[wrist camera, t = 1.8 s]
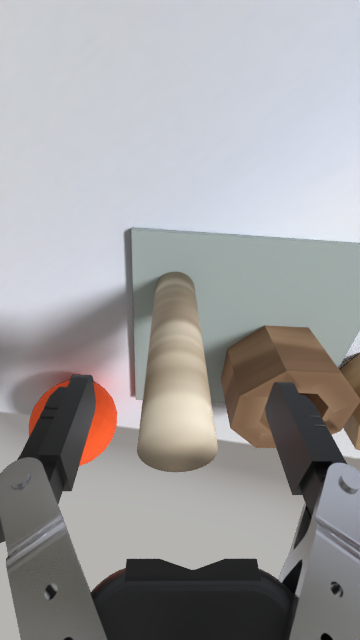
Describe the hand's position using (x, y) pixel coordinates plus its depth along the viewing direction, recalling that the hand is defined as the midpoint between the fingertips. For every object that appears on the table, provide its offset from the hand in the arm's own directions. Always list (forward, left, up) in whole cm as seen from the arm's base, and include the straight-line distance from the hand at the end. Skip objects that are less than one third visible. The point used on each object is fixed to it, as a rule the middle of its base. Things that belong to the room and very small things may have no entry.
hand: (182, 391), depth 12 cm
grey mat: (+4, +6, -10) cm, 12 cm away
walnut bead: (+7, +9, -9) cm, 14 cm away
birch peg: (0, 0, -9) cm, 9 cm away
